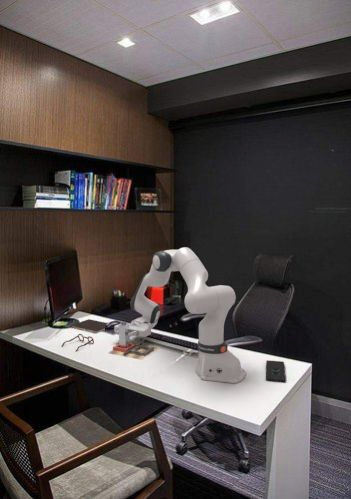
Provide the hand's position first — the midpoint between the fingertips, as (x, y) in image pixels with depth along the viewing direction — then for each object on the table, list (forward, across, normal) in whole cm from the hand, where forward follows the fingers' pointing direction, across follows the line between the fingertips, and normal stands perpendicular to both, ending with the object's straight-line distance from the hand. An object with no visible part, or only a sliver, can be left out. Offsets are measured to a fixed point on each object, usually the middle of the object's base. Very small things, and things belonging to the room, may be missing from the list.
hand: (123, 334), depth 192 cm
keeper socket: (-1, 0, +8) cm, 8 cm away
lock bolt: (-1, 0, +8) cm, 8 cm away
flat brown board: (-1, +6, +10) cm, 11 cm away
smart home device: (-9, +77, +10) cm, 78 cm away
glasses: (+3, -29, +10) cm, 31 cm away
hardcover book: (-27, -44, +10) cm, 53 cm away
